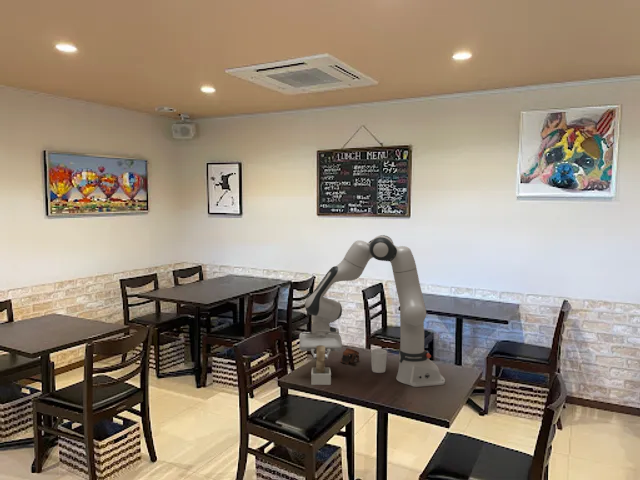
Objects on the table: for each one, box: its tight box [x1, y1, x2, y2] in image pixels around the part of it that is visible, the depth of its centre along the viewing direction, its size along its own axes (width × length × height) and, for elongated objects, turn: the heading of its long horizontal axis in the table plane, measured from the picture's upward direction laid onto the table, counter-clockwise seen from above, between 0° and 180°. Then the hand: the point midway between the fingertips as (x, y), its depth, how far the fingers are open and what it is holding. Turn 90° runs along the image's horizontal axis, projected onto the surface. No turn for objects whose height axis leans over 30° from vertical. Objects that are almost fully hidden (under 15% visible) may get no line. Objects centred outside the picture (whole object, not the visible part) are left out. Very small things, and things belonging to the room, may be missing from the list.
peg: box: [315, 345, 326, 373], centre depth 222 cm, size 4×4×12 cm
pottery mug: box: [340, 348, 360, 366], centre depth 249 cm, size 12×10×8 cm
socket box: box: [310, 367, 332, 386], centre depth 223 cm, size 9×9×5 cm
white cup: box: [370, 348, 388, 374], centre depth 237 cm, size 8×8×10 cm
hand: (320, 358), depth 221 cm, fingers closed on peg, 4 cm apart
